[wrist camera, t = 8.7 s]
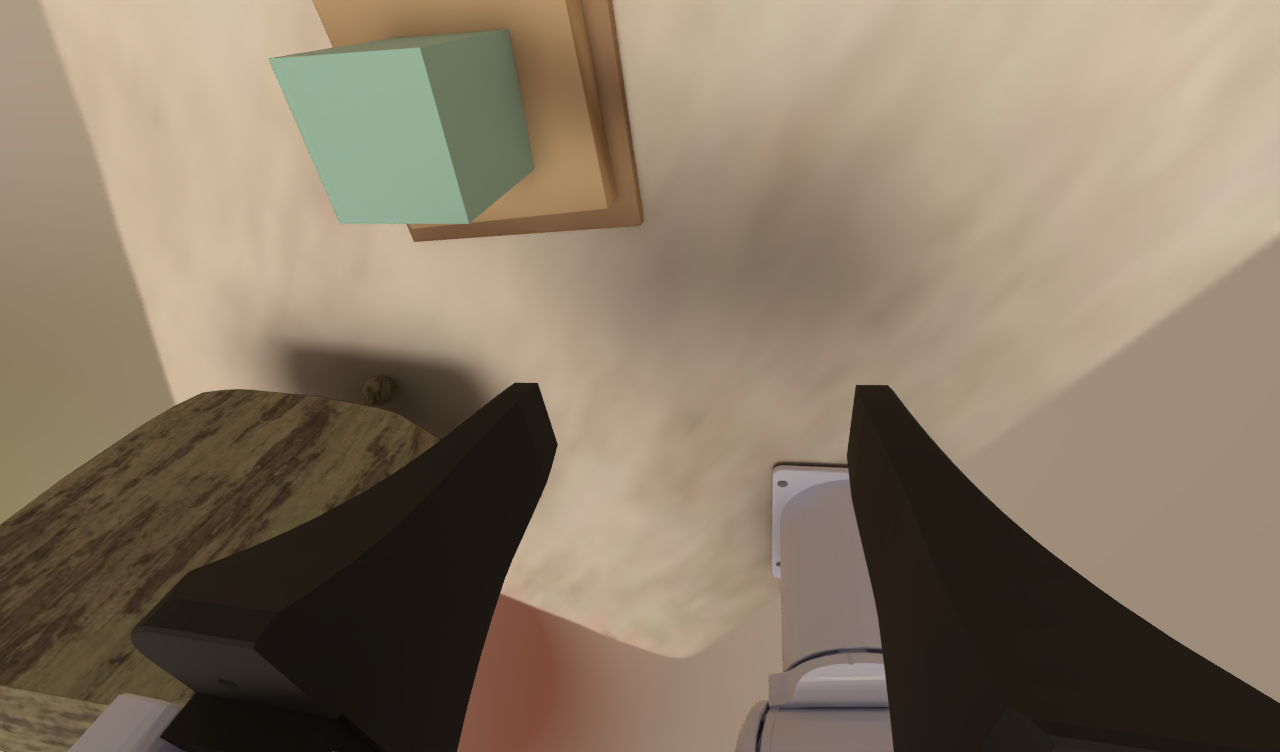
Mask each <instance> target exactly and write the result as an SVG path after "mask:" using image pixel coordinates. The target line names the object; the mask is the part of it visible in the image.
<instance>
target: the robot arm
mask: <svg viewBox="0 0 1280 752" xmlns="http://www.w3.org/2000/svg"><path fill="white" fill-rule="evenodd" d="M557 445H558V444H557V441H556V438H555V435H554V432H553V429H552V426H551V423H550V419H549V416H548V413H547V410H546V407H545V404H544V401H543V398H542V395H541V392H540V389H539V386H538V383H514V384H513V385H511V386H510V387H508V388H507V389H506V390H504V391H503V392H502V393H500V394H499V395H498V396H496V397H495V398H494V399H492V400H491V401H490V402H489V403H487V404H486V405H485V406H484V407H482V408H481V409H480V410H479V411H477V412H476V413H475V414H474V415H472V416H471V417H470V418H469V419H467V420H466V421H465V422H463V423H462V424H461V425H460V426H458V427H457V428H456V429H455V430H453V431H452V432H451V433H449V434H448V435H447V436H446V437H444V438H443V439H441V440H440V441H439V442H437V443H436V444H435V445H433V446H432V447H430V448H429V449H428V450H426V451H425V452H424V453H422V454H421V455H419V456H418V457H417V458H415V459H414V460H413V461H411V462H410V463H408V464H407V465H405V466H404V467H402V468H401V469H399V470H398V471H396V472H395V473H393V474H392V475H390V476H388V477H387V478H385V479H384V480H382V481H380V482H379V483H377V484H376V485H374V486H372V487H371V488H369V489H367V490H366V491H364V492H362V493H360V494H359V495H357V496H355V497H353V498H351V499H349V500H348V501H346V502H344V503H342V504H340V505H338V506H336V507H335V508H333V509H331V510H329V511H327V512H325V513H323V514H322V515H320V516H318V517H316V518H314V519H312V520H310V521H308V522H306V523H304V524H301V525H299V526H297V527H295V528H293V529H291V530H289V531H287V532H284V533H282V534H280V535H278V536H276V537H273V538H271V539H269V540H267V541H264V542H262V543H260V544H257V545H255V546H253V547H250V548H248V549H245V550H243V551H240V552H238V553H235V554H233V555H230V556H227V557H225V558H222V559H220V560H217V561H215V562H212V563H210V564H207V565H205V566H202V567H199V568H197V569H194V570H191V571H189V572H188V573H187V574H186V575H185V576H184V577H183V578H182V579H181V580H180V581H179V582H178V583H177V584H176V585H175V586H174V587H173V588H172V589H171V590H170V591H169V592H168V593H167V594H166V595H165V596H164V597H163V598H162V599H161V600H160V601H159V602H158V603H157V604H156V605H155V606H154V607H153V608H152V609H151V610H150V611H149V612H148V614H147V615H146V616H145V617H144V618H143V619H142V620H141V621H140V622H139V623H138V624H137V625H136V626H135V627H134V628H133V629H132V631H131V632H130V638H131V641H132V644H133V645H134V646H135V648H136V649H137V650H138V651H139V652H140V653H141V654H143V655H144V656H145V657H146V658H148V659H149V660H150V661H152V662H153V663H154V664H156V665H157V666H159V667H160V668H162V669H163V670H164V671H166V672H167V673H169V674H170V675H172V676H173V677H175V678H176V679H177V680H179V681H180V682H182V683H183V684H185V685H186V686H188V687H189V688H190V689H192V690H193V691H195V692H196V693H195V694H194V695H193V696H192V697H191V699H190V700H189V701H188V702H187V704H186V705H185V706H184V707H183V708H182V707H180V706H178V705H175V704H173V703H170V702H167V701H163V700H158V699H154V698H149V697H144V696H139V695H134V694H129V693H124V694H120V695H118V696H117V698H116V699H115V700H114V701H113V702H112V703H111V704H110V705H109V706H108V707H107V709H106V710H105V711H104V712H103V713H102V714H101V715H100V716H99V717H98V718H97V719H96V721H95V722H94V723H93V724H92V725H91V726H90V727H89V728H88V729H87V730H86V732H85V733H84V734H83V735H82V736H81V737H80V738H79V739H78V740H77V741H76V743H75V744H74V745H73V746H72V747H71V748H70V749H69V750H68V751H67V752H457V749H458V745H459V740H460V736H461V732H462V727H463V723H464V719H465V714H466V710H467V706H468V701H469V698H470V694H471V690H472V687H473V683H474V679H475V675H476V672H477V668H478V664H479V660H480V656H481V653H482V650H483V646H484V643H485V640H486V636H487V633H488V630H489V626H490V622H491V619H492V616H493V613H494V610H495V607H496V604H497V601H498V598H499V595H500V592H501V589H502V586H503V583H504V580H505V577H506V574H507V572H508V569H509V567H510V564H511V562H512V559H513V557H514V555H515V553H516V551H517V548H518V546H519V544H520V542H521V539H522V537H523V535H524V533H525V531H526V528H527V526H528V524H529V522H530V519H531V517H532V515H533V513H534V511H535V508H536V506H537V504H538V501H539V499H540V497H541V495H542V492H543V490H544V488H545V485H546V483H547V480H548V477H549V474H550V470H551V467H552V464H553V460H554V456H555V453H556V449H557ZM847 460H848V468H834V467H811V466H787V465H781V466H777V467H775V468H774V469H773V481H772V575H773V576H774V577H776V578H780V579H781V607H782V608H781V609H782V657H783V658H782V660H783V672H782V673H775V674H770V675H769V701H765V700H762V701H759V702H756V703H755V704H754V705H753V706H752V707H751V709H750V711H749V713H748V715H747V717H746V720H745V721H744V723H743V725H742V727H741V729H740V732H739V735H738V739H737V743H736V749H735V752H1280V703H1278V702H1277V701H1275V700H1273V699H1272V698H1270V697H1268V696H1267V695H1265V694H1263V693H1262V692H1260V691H1258V690H1257V689H1255V688H1254V687H1252V686H1250V685H1249V684H1247V683H1245V682H1244V681H1242V680H1240V679H1239V678H1237V677H1235V676H1234V675H1232V674H1230V673H1228V672H1227V671H1225V670H1224V669H1222V668H1220V667H1219V666H1217V665H1215V664H1214V663H1212V662H1210V661H1209V660H1207V659H1205V658H1204V657H1202V656H1200V655H1199V654H1197V653H1195V652H1194V651H1192V650H1190V649H1189V648H1187V647H1185V646H1184V645H1182V644H1181V643H1179V642H1178V641H1176V640H1174V639H1173V638H1171V637H1170V636H1168V635H1167V634H1165V633H1164V632H1162V631H1161V630H1159V629H1158V628H1156V627H1155V626H1153V625H1152V624H1150V623H1149V622H1147V621H1146V620H1144V619H1143V618H1141V617H1140V616H1138V615H1137V614H1135V613H1134V612H1132V611H1131V610H1129V609H1127V608H1126V607H1124V606H1123V605H1122V604H1120V603H1119V602H1117V601H1116V600H1114V599H1113V598H1112V597H1110V596H1109V595H1108V594H1106V593H1104V592H1103V591H1102V590H1100V589H1099V588H1098V587H1096V586H1095V585H1094V584H1092V583H1091V582H1090V581H1088V580H1087V579H1086V578H1084V577H1083V576H1082V575H1080V574H1079V573H1077V572H1076V571H1075V570H1073V569H1072V568H1071V567H1069V566H1068V565H1067V564H1065V563H1064V562H1063V561H1061V560H1060V559H1059V558H1057V557H1056V556H1054V555H1053V554H1052V553H1051V552H1050V551H1048V550H1047V549H1046V548H1045V547H1043V546H1042V545H1041V544H1040V543H1038V542H1037V541H1036V540H1035V539H1033V538H1032V537H1031V536H1030V535H1029V534H1027V533H1026V532H1025V531H1024V530H1023V529H1022V528H1020V527H1019V526H1018V525H1017V524H1016V523H1015V522H1013V521H1012V520H1011V519H1010V518H1009V517H1008V516H1007V515H1006V514H1004V513H1003V512H1002V511H1001V510H1000V509H999V508H998V507H997V506H996V505H995V504H994V503H993V502H992V501H990V500H989V499H988V498H987V497H986V496H985V495H984V494H983V493H982V492H981V491H980V490H979V489H978V488H977V487H976V486H975V485H974V484H973V483H972V482H971V481H970V480H969V479H968V478H967V477H966V476H965V475H964V474H963V473H962V472H961V471H960V470H959V469H958V467H957V466H956V465H955V464H954V463H953V462H952V461H951V460H950V459H949V458H948V457H947V455H946V454H945V453H944V452H943V451H942V450H941V449H940V448H939V447H938V445H937V444H936V443H935V442H934V441H933V440H932V439H931V437H930V436H929V435H928V434H927V433H926V432H925V430H924V429H923V428H922V427H921V426H920V424H919V423H918V422H917V421H916V419H915V418H914V417H913V416H912V414H911V413H910V412H909V411H908V409H907V408H906V407H905V406H904V404H903V403H902V402H901V400H900V399H899V398H898V396H897V395H896V394H895V392H894V391H893V390H892V389H891V388H890V387H889V386H888V385H856V389H855V397H854V405H853V413H852V420H851V428H850V436H849V444H848V452H847ZM782 480H783V481H784V482H782Z"/></svg>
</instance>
